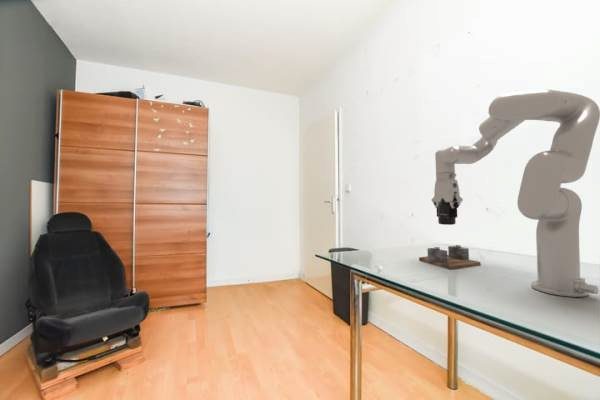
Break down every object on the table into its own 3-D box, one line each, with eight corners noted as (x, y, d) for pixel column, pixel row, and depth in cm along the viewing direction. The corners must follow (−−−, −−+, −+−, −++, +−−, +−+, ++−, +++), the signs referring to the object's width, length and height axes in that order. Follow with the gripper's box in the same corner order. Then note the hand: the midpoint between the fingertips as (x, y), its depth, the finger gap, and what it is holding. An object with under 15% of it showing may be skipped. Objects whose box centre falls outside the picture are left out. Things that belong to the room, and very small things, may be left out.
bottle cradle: (480, 265, 114) (479, 247, 114) (451, 269, 109) (450, 251, 109) (445, 257, 131) (445, 242, 131) (419, 260, 126) (418, 244, 126)
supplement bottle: (440, 224, 118) (439, 197, 118) (437, 223, 125) (436, 197, 125) (457, 224, 116) (456, 197, 116) (453, 223, 123) (452, 197, 123)
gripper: (469, 175, 113) (470, 217, 113) (436, 179, 130) (438, 215, 130) (455, 175, 111) (456, 218, 111) (424, 179, 127) (425, 216, 127)
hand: (446, 216), depth 120 cm, fingers closed on supplement bottle, 6 cm apart
